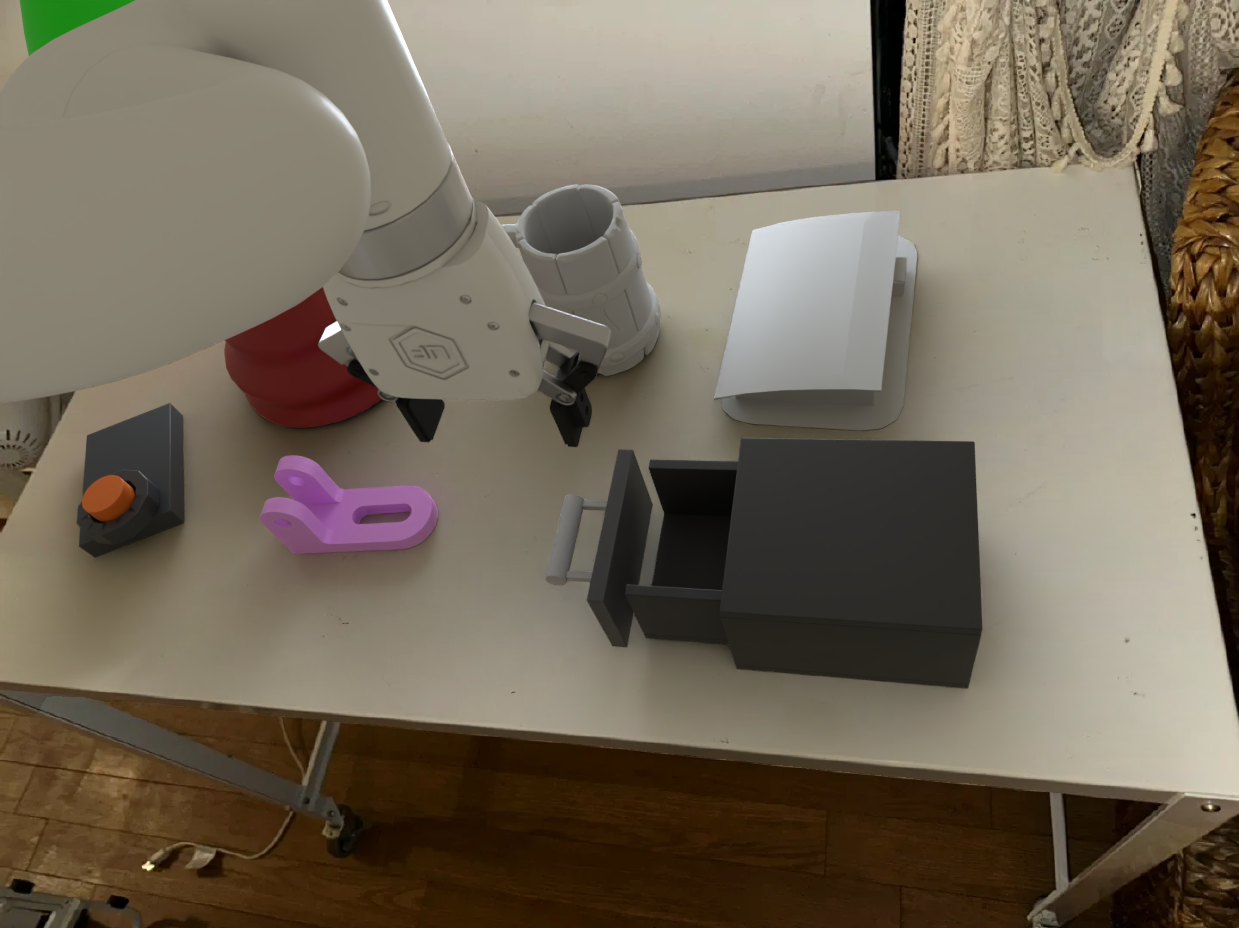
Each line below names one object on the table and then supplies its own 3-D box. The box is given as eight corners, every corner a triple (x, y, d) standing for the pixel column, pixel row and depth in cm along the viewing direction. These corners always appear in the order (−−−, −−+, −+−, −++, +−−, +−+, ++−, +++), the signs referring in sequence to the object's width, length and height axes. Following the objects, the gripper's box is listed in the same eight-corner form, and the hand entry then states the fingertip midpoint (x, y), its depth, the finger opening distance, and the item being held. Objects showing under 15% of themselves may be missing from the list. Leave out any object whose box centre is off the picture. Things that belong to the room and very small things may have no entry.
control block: (184, 535, 84) (158, 512, 81) (93, 570, 84) (63, 549, 81) (183, 415, 94) (159, 391, 90) (101, 447, 94) (74, 424, 90)
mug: (657, 380, 83) (615, 233, 69) (481, 384, 87) (408, 247, 73) (671, 290, 89) (634, 138, 75) (506, 299, 93) (442, 157, 79)
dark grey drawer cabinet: (736, 669, 66) (719, 612, 58) (754, 507, 73) (740, 437, 65) (968, 689, 61) (982, 630, 54) (962, 514, 69) (974, 440, 61)
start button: (135, 512, 82) (122, 502, 81) (93, 528, 82) (80, 519, 81) (136, 479, 85) (123, 468, 83) (95, 494, 85) (82, 484, 83)
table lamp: (352, 260, 102) (72, -201, 66) (467, 326, 92) (210, -174, 56) (213, 378, 96) (-180, -58, 60) (319, 464, 86) (-77, 0, 50)
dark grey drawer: (555, 642, 69) (525, 596, 63) (587, 502, 76) (562, 447, 69) (811, 662, 64) (805, 615, 58) (821, 510, 70) (816, 452, 64)
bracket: (294, 553, 80) (251, 513, 75) (310, 500, 84) (270, 456, 78) (431, 547, 78) (397, 504, 72) (443, 492, 81) (411, 446, 75)
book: (919, 234, 86) (921, 201, 83) (900, 433, 74) (902, 403, 71) (756, 234, 90) (752, 203, 87) (714, 421, 79) (707, 393, 75)
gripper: (204, 270, 44) (361, 471, 57) (544, 261, 39) (627, 482, 53) (266, 167, 48) (399, 377, 61) (581, 147, 43) (649, 380, 56)
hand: (504, 426), depth 57 cm, fingers open, 9 cm apart
